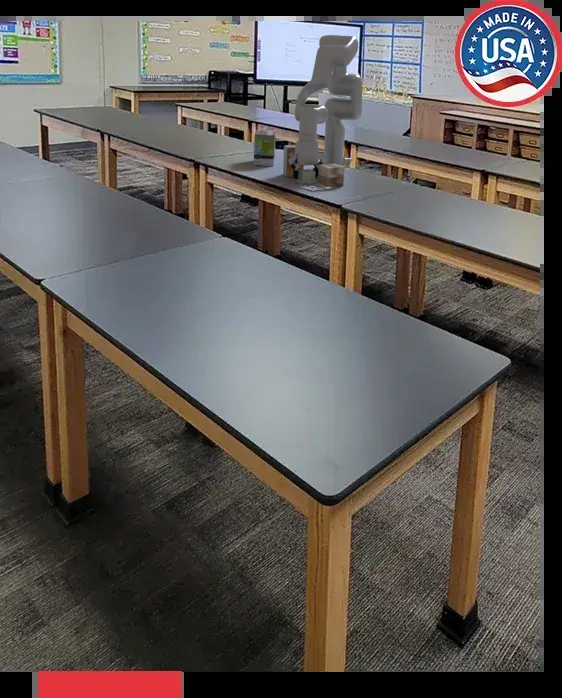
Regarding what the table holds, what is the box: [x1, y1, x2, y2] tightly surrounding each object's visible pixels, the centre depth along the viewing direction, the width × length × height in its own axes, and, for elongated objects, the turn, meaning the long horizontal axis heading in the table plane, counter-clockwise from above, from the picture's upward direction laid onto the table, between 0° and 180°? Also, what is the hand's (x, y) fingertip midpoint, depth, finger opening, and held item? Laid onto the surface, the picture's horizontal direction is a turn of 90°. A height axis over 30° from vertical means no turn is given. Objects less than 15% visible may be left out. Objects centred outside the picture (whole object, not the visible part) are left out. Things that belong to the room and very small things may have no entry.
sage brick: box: [295, 168, 316, 185], centre depth 294 cm, size 6×6×5 cm
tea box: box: [253, 129, 277, 167], centre depth 329 cm, size 15×10×15 cm, turn 179°
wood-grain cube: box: [317, 164, 346, 187], centre depth 290 cm, size 8×8×8 cm
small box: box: [282, 144, 304, 178], centre depth 304 cm, size 8×6×13 cm
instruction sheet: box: [300, 184, 327, 191], centre depth 285 cm, size 12×9×1 cm
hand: (305, 178), depth 295 cm, fingers open, 9 cm apart
